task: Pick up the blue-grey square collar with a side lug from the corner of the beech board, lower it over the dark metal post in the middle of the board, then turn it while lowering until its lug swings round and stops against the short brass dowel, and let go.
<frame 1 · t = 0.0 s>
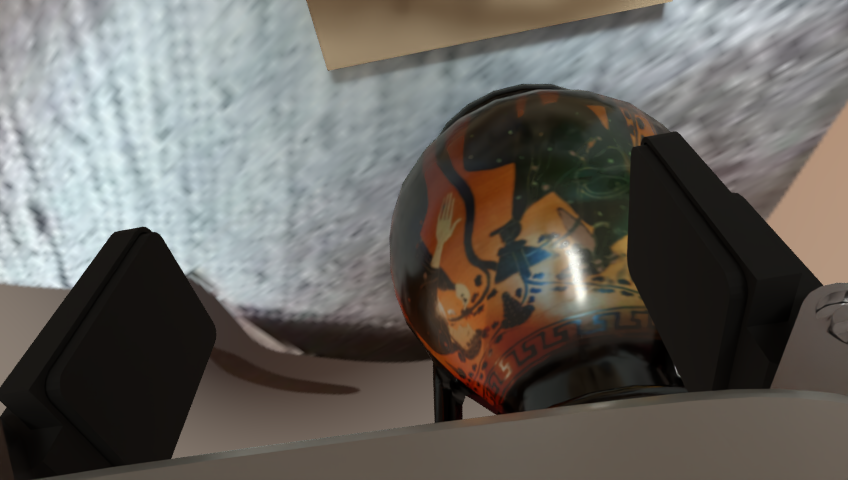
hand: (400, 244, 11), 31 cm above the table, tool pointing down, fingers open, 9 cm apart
amphora vase: (520, 172, 46), on the table
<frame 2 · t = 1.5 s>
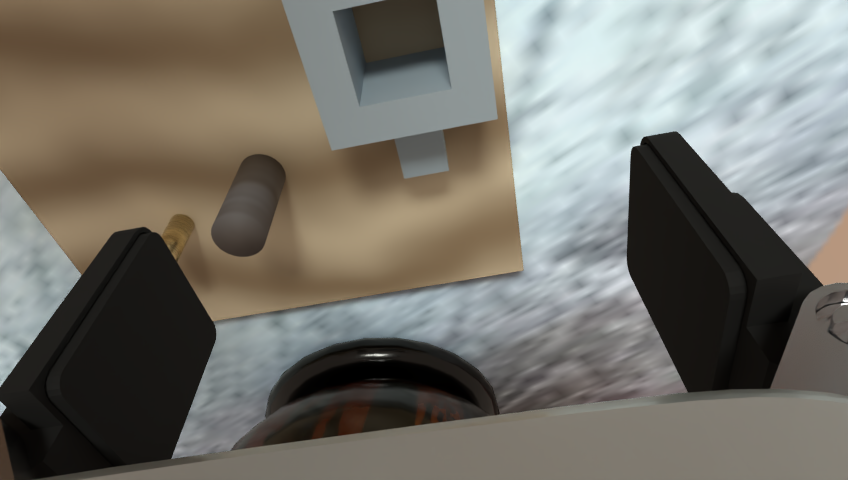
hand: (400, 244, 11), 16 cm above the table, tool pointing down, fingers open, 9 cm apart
post base: (267, 161, 28), on the table
amphora vase: (384, 402, 40), on the table
flange collar: (418, 118, 25), point 1 cm above the table, touching post base
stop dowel: (189, 210, 29), resting on post base
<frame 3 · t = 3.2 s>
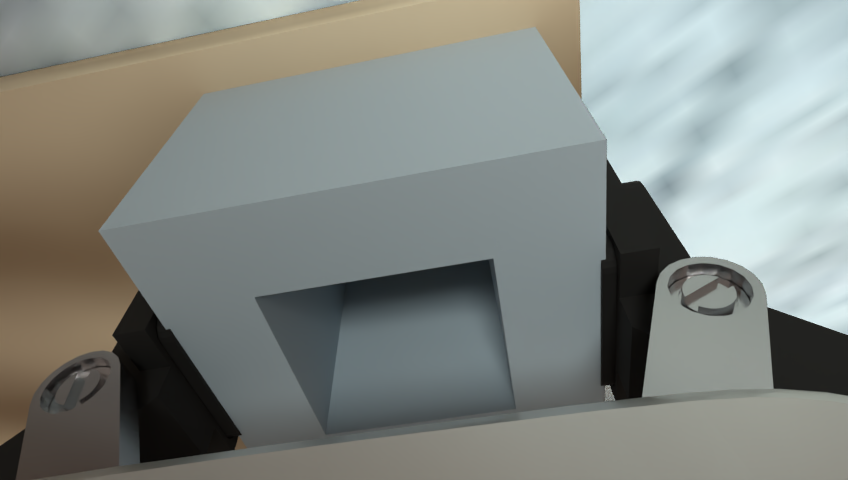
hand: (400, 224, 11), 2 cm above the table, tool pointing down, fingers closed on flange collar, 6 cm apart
post base: (196, 379, 17), on the table
flange collar: (438, 343, 15), point 1 cm above the table, touching gripper, post base
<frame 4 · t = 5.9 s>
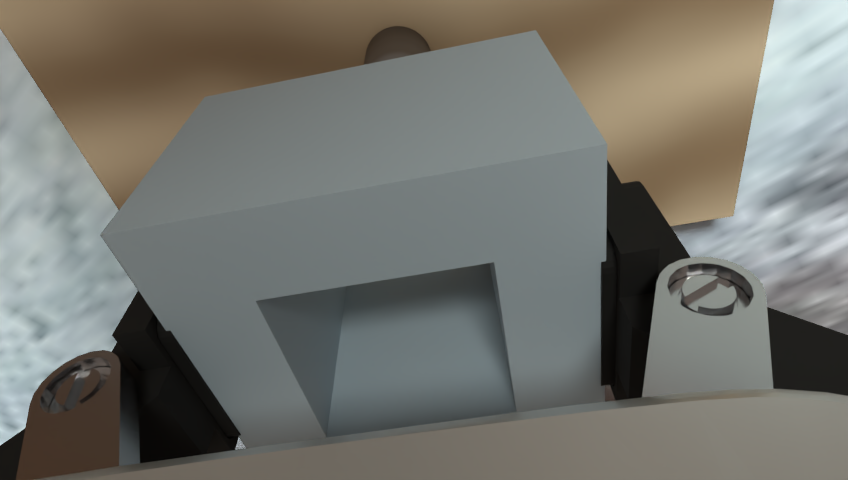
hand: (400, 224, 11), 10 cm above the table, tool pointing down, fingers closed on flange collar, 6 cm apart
post base: (399, 48, 19), on the table
flange collar: (438, 345, 15), point 9 cm above the table, touching gripper
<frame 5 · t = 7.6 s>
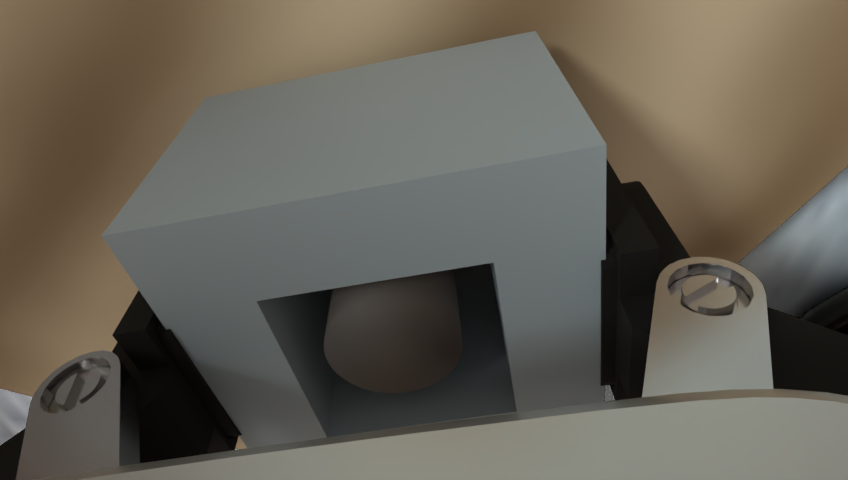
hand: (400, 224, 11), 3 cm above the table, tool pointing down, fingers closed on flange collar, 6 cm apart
post base: (397, 159, 14), on the table
flange collar: (438, 345, 15), point 2 cm above the table, touching gripper
when the fingers open (2 cm above the table, at t = 9.0 s): flange collar stays where it is, resting on post base.
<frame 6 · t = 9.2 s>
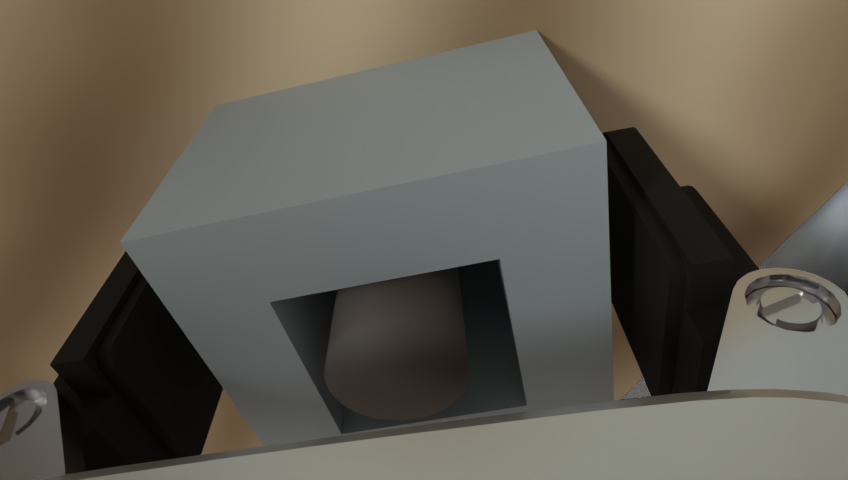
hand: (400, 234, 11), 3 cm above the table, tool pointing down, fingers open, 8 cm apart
post base: (401, 171, 13), on the table
flange collar: (449, 343, 15), point 1 cm above the table, touching post base
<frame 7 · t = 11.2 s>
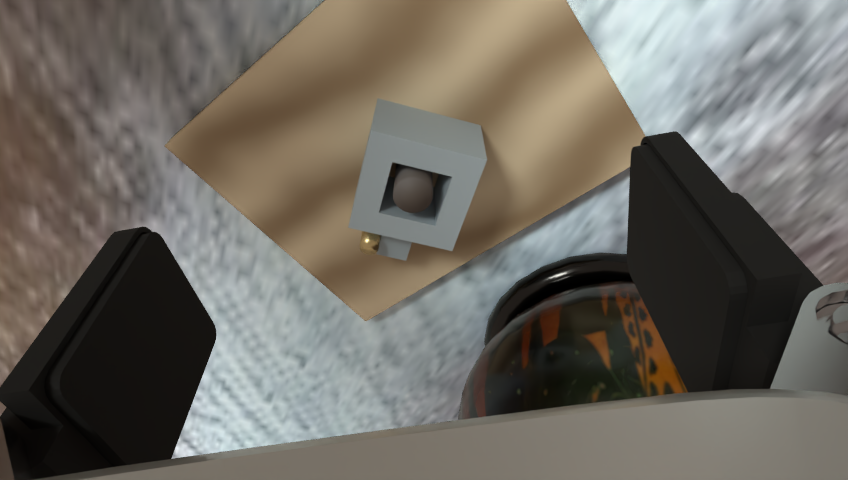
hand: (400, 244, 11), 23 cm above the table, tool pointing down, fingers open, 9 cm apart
post base: (415, 146, 35), on the table
amphora vase: (583, 323, 45), on the table
flange collar: (398, 218, 37), point 1 cm above the table, touching post base
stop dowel: (375, 207, 38), resting on post base
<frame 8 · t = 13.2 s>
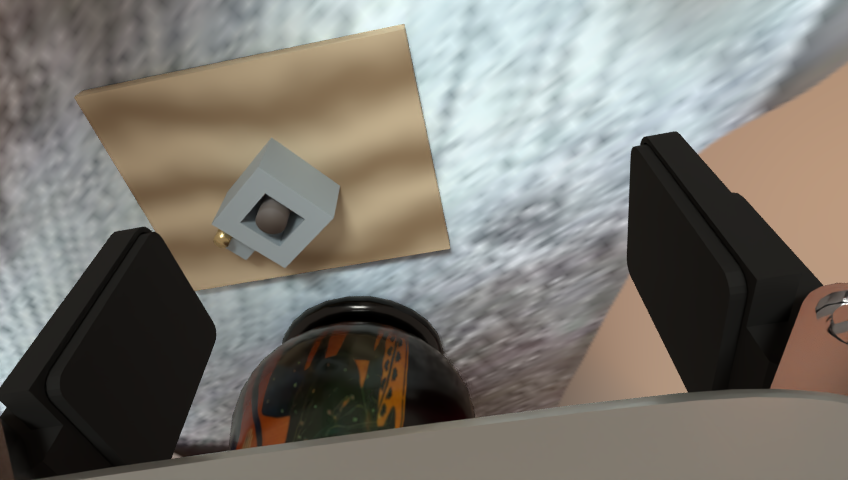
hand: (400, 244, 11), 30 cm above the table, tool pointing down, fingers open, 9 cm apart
post base: (286, 178, 45), on the table
amphora vase: (363, 346, 57), on the table
flange collar: (252, 224, 46), point 1 cm above the table, touching post base
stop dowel: (236, 208, 46), resting on post base
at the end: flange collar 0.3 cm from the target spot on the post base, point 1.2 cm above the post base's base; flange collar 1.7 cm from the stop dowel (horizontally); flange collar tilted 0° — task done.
